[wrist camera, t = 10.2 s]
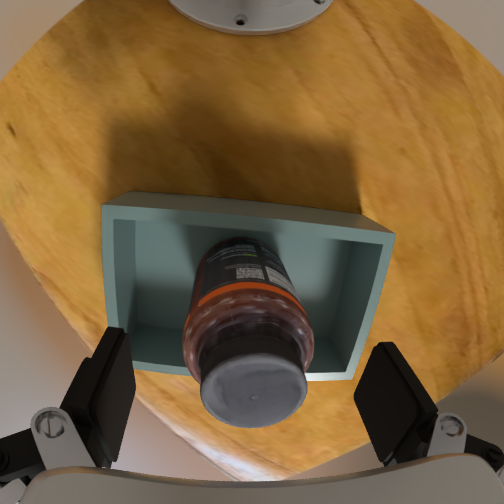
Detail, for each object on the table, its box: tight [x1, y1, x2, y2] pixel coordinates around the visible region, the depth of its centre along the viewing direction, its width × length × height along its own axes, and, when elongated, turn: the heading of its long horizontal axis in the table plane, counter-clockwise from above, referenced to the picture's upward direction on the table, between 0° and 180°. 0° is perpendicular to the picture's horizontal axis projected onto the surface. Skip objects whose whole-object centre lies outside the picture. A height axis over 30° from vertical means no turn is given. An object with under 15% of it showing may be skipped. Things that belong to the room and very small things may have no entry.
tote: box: [101, 191, 396, 381], centre depth 20 cm, size 10×16×5 cm, turn 83°
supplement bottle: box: [182, 237, 314, 428], centre depth 16 cm, size 6×6×11 cm
